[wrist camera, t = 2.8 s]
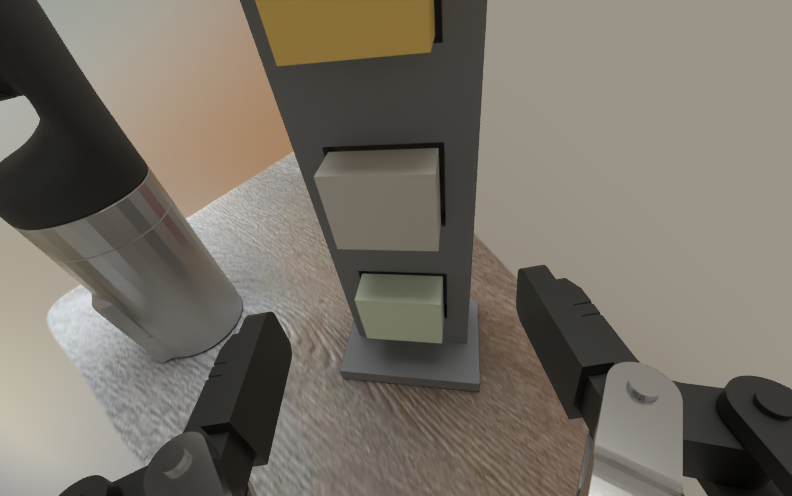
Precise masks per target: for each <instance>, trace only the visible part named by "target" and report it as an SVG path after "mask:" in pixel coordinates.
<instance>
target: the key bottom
mask: <svg viewBox="0 0 792 496" xmlns="http://www.w3.org/2000/svg"><path fill="white" fill-rule="evenodd" d="M355 303H356V306H357V309H358V312H359V315H360V318H361V321H362V324H363V327H364V330H365V333H366V336H367V338H373V339H386V340H400V341H414V342H427V343H441V344H442V339H443V321H444V307H443V276H419V275H391V274H362V276H361V280H360V283H359V287H358V290H357V294H356V297H355Z"/></svg>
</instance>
